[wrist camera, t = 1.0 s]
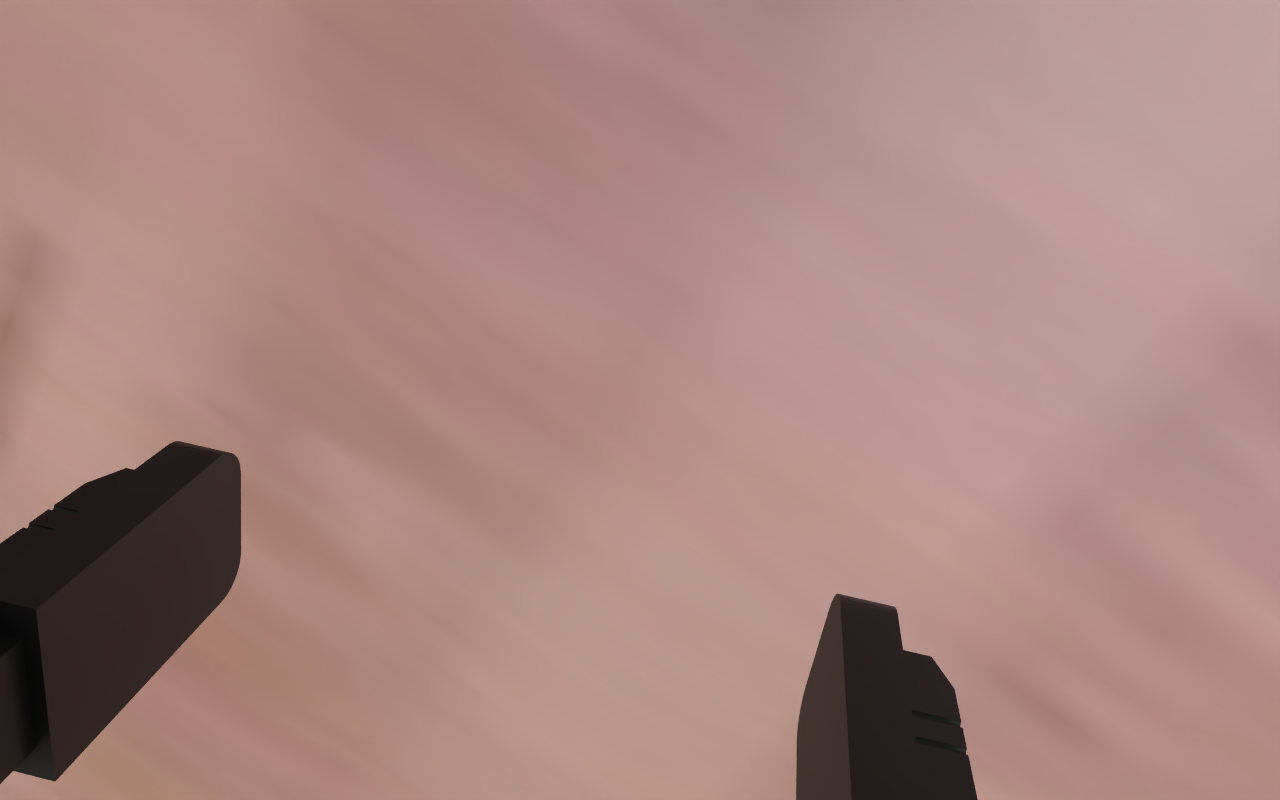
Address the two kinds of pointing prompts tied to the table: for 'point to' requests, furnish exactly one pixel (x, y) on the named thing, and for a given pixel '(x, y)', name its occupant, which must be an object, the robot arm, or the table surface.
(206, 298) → the table surface
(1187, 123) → the table surface
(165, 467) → the robot arm
